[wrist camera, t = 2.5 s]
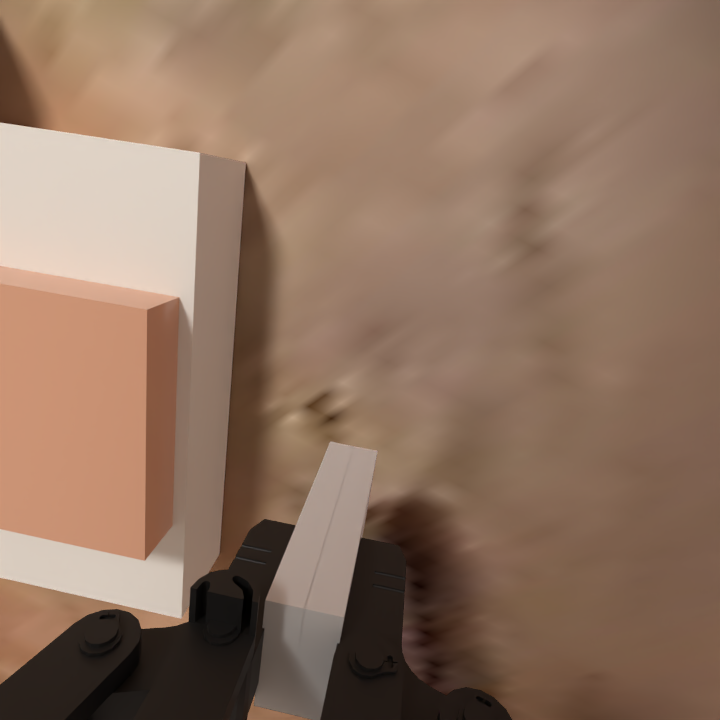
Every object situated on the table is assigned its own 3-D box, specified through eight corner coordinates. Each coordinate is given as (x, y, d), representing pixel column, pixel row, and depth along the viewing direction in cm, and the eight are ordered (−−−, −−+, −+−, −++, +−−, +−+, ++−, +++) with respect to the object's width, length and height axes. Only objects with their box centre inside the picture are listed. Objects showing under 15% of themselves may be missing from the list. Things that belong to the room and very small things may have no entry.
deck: (-95, 110, 20) (-219, 89, 16) (245, 162, 19) (199, 152, 15) (-44, 497, 26) (-126, 548, 22) (219, 553, 24) (181, 618, 21)
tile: (-72, 253, 17) (-134, 259, 15) (179, 296, 16) (147, 309, 15) (-43, 480, 20) (-92, 508, 18) (172, 525, 19) (144, 560, 17)
